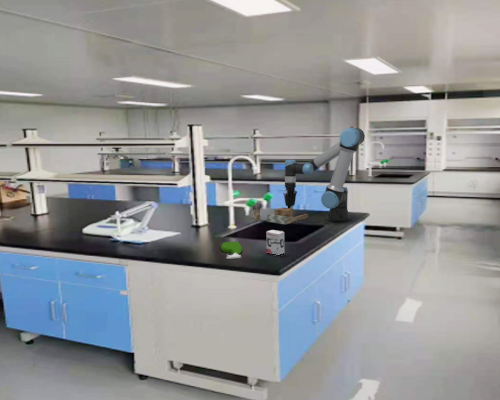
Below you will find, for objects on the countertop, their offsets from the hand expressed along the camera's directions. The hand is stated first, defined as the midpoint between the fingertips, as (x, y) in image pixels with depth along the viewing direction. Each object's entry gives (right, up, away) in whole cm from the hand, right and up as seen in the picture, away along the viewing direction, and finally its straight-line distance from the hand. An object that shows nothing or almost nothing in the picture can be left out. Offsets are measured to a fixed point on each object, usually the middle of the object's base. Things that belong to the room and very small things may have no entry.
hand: (290, 215), depth 319 cm
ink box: (-15, -17, -86) cm, 89 cm away
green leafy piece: (-37, -17, -82) cm, 92 cm away
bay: (-1, -3, -2) cm, 4 cm away
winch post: (-23, -3, -2) cm, 24 cm away
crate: (-5, -3, -5) cm, 8 cm away
